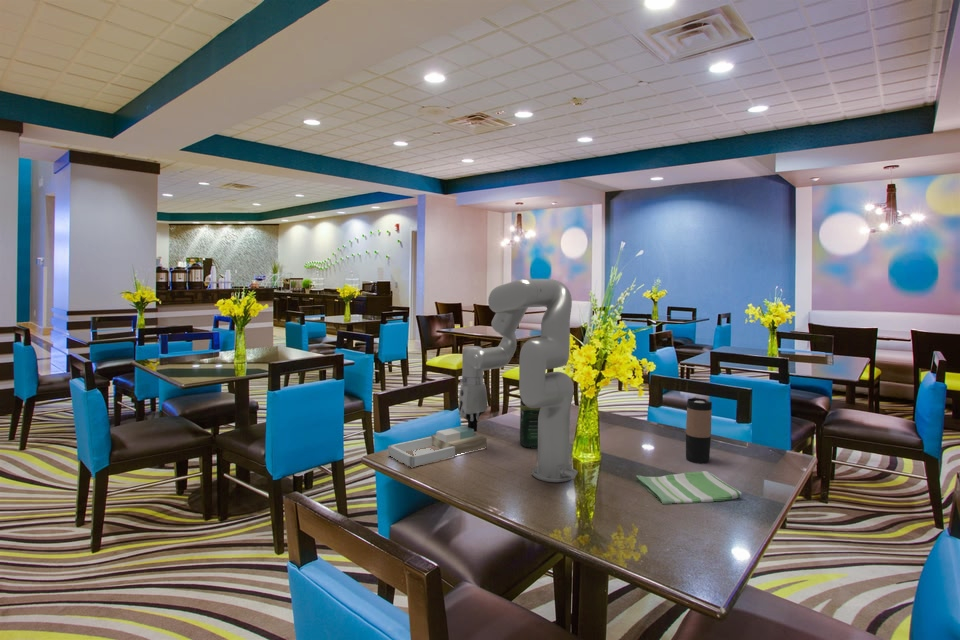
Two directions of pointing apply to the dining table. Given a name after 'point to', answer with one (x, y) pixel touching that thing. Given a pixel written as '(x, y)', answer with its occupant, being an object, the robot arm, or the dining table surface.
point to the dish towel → (689, 488)
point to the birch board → (462, 443)
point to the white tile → (448, 435)
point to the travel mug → (698, 430)
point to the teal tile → (464, 431)
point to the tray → (419, 452)
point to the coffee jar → (528, 425)
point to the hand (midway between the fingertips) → (472, 430)
